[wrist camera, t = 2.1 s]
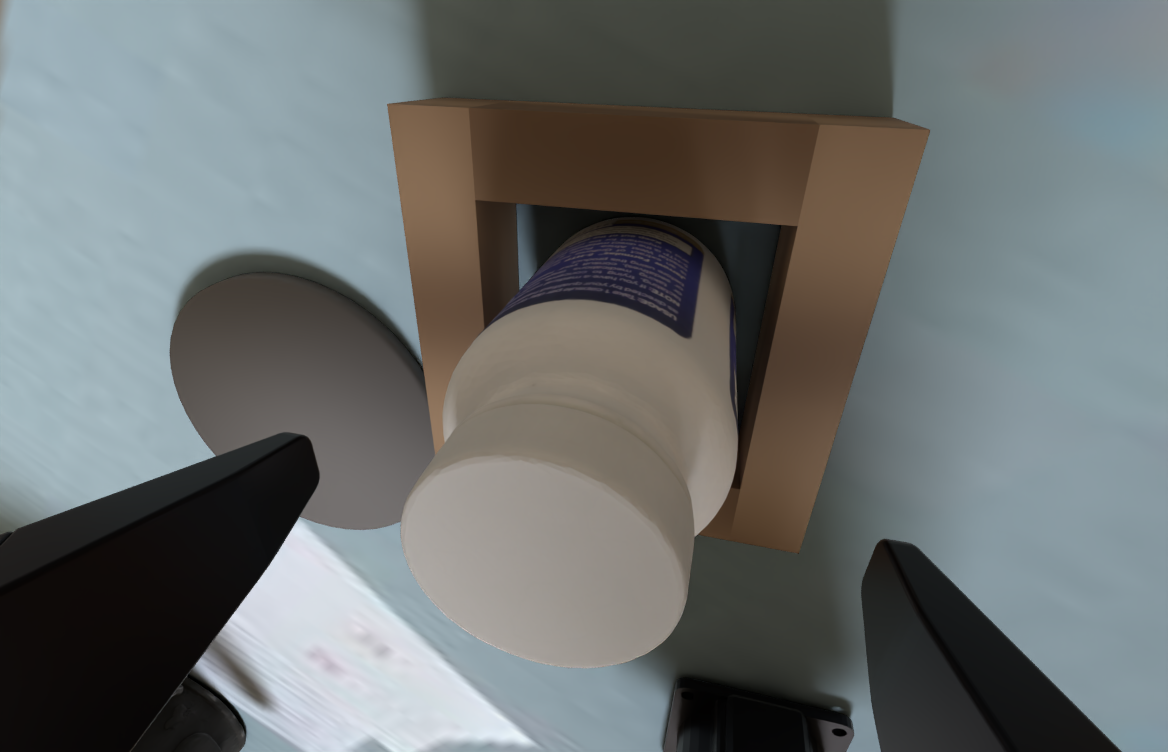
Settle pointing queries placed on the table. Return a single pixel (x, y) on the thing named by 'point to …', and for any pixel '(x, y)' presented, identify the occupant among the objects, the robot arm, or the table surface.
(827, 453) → the collar block
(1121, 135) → the table surface
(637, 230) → the pill bottle
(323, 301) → the mat
